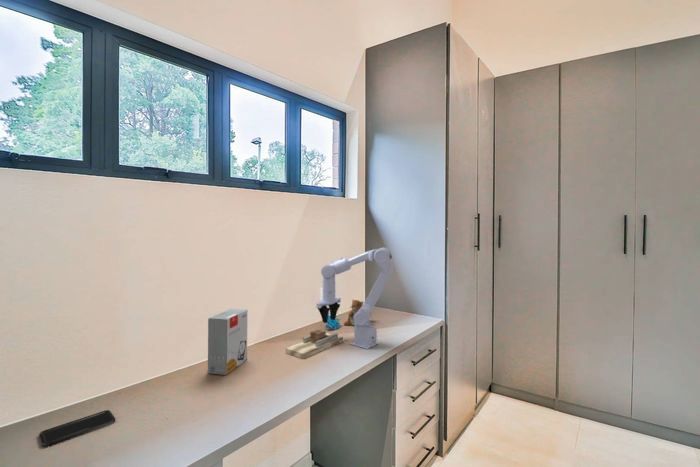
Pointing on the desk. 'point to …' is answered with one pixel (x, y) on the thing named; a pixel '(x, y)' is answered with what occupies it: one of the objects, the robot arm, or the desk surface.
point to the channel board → (313, 345)
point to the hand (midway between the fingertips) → (328, 320)
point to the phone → (76, 428)
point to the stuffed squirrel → (353, 311)
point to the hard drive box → (227, 341)
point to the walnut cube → (316, 335)
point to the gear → (333, 322)
